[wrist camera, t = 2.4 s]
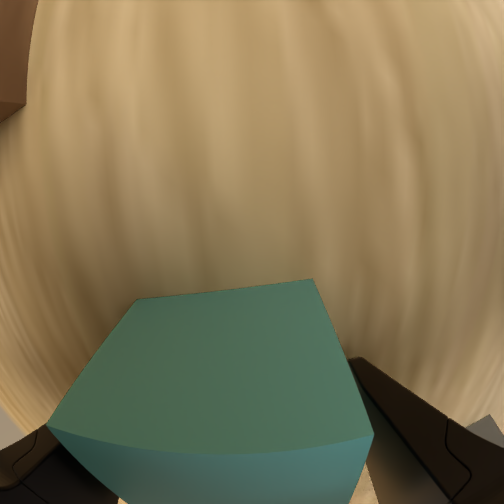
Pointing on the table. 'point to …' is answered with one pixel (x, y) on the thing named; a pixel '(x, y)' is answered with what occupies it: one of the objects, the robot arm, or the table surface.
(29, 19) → the walnut block
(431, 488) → the robot arm
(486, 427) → the slate block
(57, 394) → the table surface
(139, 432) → the teal block
